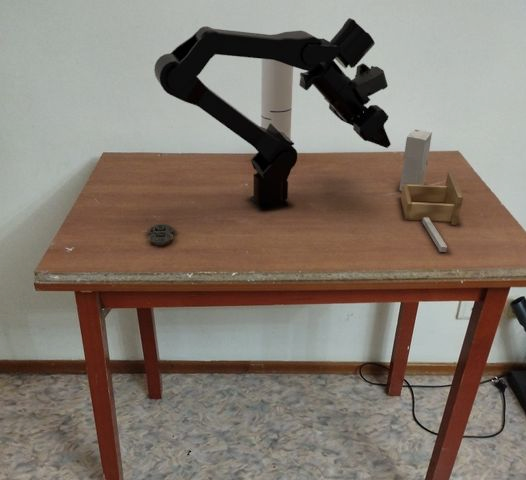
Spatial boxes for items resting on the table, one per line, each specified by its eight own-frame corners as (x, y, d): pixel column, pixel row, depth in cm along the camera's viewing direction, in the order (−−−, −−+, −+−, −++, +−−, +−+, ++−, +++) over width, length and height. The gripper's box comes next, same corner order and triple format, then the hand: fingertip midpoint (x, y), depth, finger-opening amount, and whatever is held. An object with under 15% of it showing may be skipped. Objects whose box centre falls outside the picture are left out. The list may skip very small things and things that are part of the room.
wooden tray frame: (406, 222, 120) (410, 194, 117) (400, 196, 131) (404, 169, 127) (456, 225, 120) (463, 197, 116) (447, 198, 130) (452, 172, 126)
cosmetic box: (417, 194, 131) (427, 140, 124) (397, 191, 133) (406, 136, 125) (424, 185, 136) (434, 131, 128) (405, 181, 137) (413, 128, 130)
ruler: (446, 251, 111) (447, 247, 110) (440, 252, 111) (441, 247, 110) (427, 221, 120) (428, 217, 120) (422, 221, 120) (423, 217, 120)
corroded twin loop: (147, 247, 111) (147, 242, 110) (148, 228, 117) (147, 223, 116) (174, 246, 111) (174, 241, 111) (174, 227, 118) (173, 222, 117)
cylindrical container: (286, 166, 144) (291, 54, 128) (258, 164, 145) (258, 52, 129) (291, 156, 149) (296, 47, 134) (264, 153, 150) (265, 45, 135)
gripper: (385, 65, 107) (429, 123, 116) (347, 43, 121) (390, 96, 130) (340, 113, 110) (387, 165, 119) (309, 86, 124) (352, 135, 133)
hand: (379, 138), depth 125 cm, fingers open, 9 cm apart
